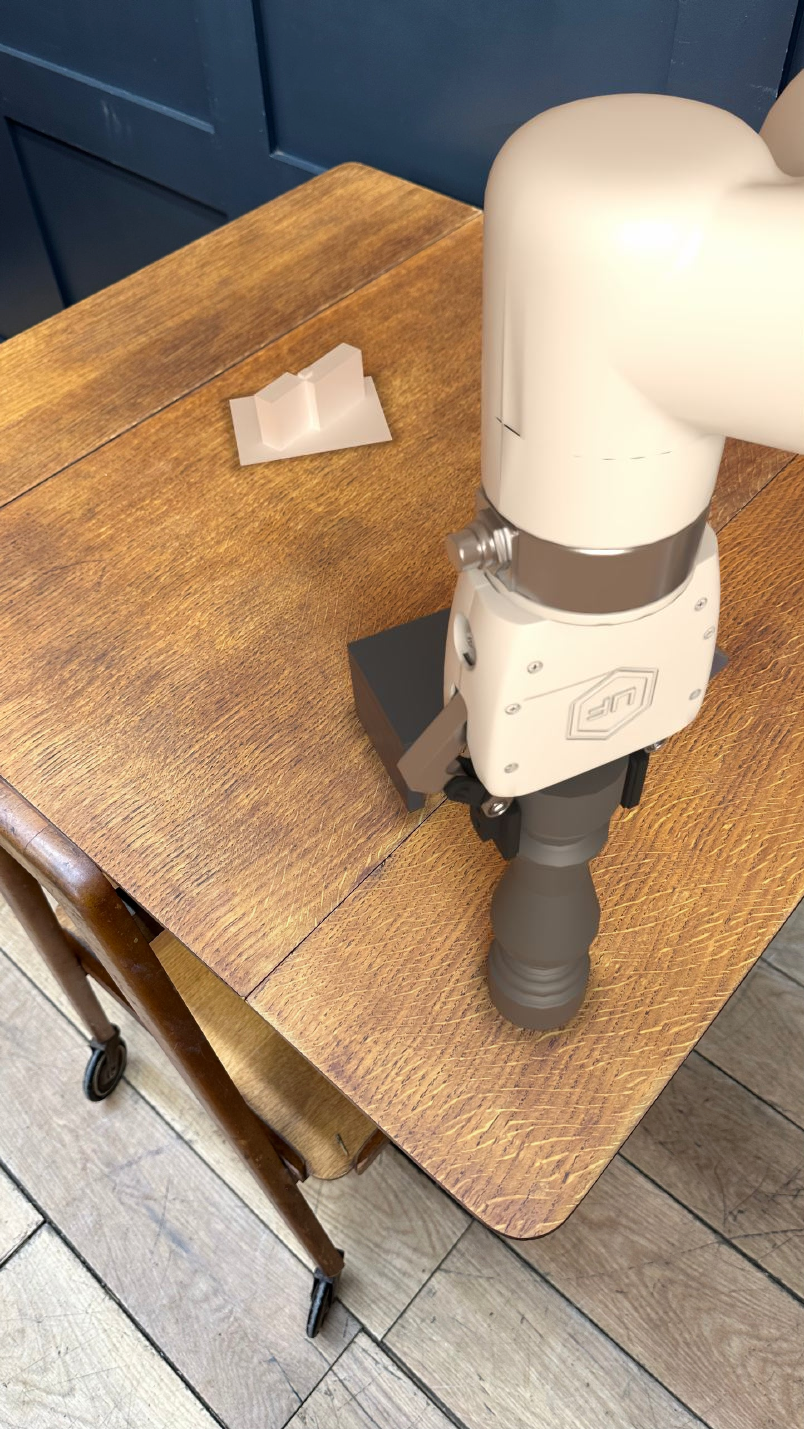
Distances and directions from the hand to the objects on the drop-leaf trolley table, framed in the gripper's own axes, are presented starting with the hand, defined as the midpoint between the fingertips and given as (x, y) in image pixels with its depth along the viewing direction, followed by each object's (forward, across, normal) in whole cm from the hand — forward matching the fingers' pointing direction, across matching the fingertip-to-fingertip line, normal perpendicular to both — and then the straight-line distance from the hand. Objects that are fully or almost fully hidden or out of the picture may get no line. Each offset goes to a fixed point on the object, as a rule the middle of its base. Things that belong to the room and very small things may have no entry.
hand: (556, 807), depth 49 cm
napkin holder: (+20, +8, +62) cm, 66 cm away
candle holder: (+20, 0, 0) cm, 20 cm away
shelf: (+20, +8, +20) cm, 29 cm away
